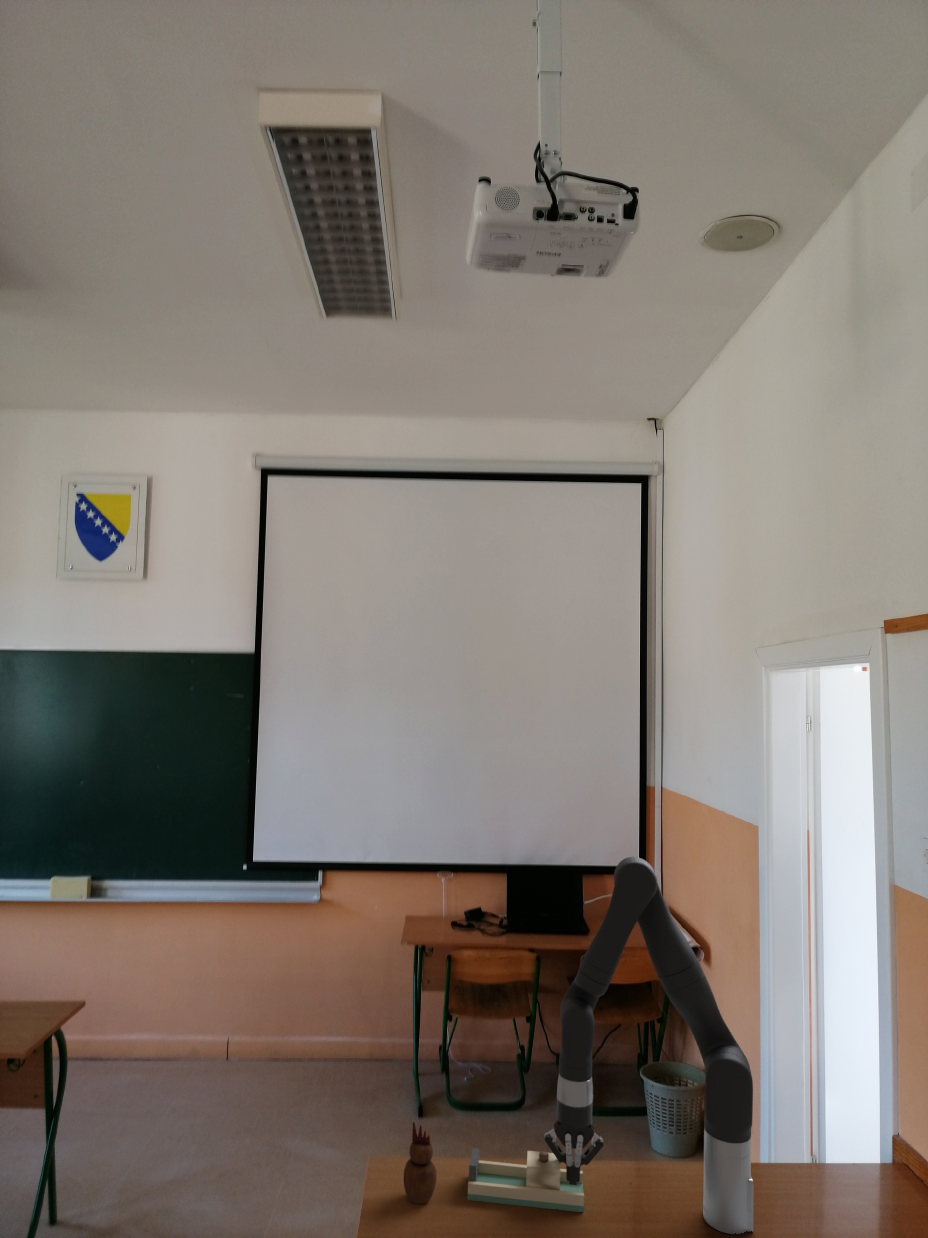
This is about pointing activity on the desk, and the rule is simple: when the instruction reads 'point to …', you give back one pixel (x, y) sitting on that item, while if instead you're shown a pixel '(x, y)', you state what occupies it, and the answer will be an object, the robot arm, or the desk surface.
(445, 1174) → the desk surface
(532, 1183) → the cream knobbed cube
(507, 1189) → the rail
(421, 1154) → the wooden figurine
